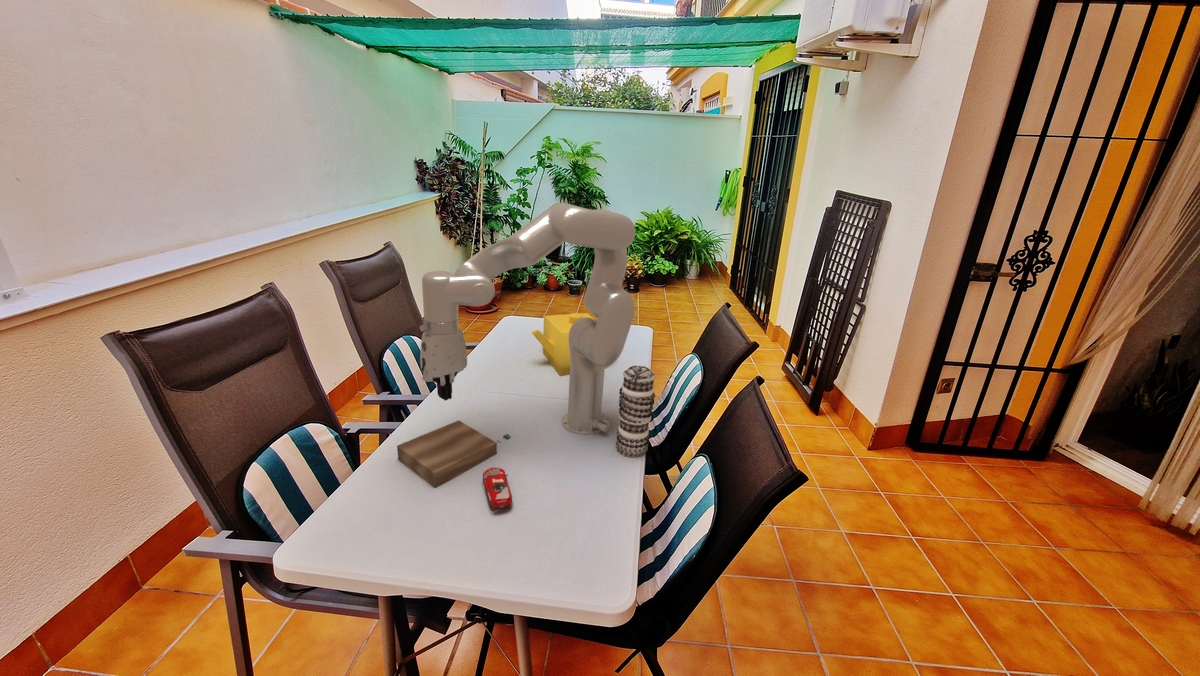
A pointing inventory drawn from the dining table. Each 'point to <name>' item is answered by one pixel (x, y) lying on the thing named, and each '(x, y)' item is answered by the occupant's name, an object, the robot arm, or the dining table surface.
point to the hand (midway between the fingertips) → (445, 397)
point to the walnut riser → (446, 452)
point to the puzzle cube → (506, 437)
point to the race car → (497, 488)
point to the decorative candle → (635, 411)
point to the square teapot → (558, 340)
